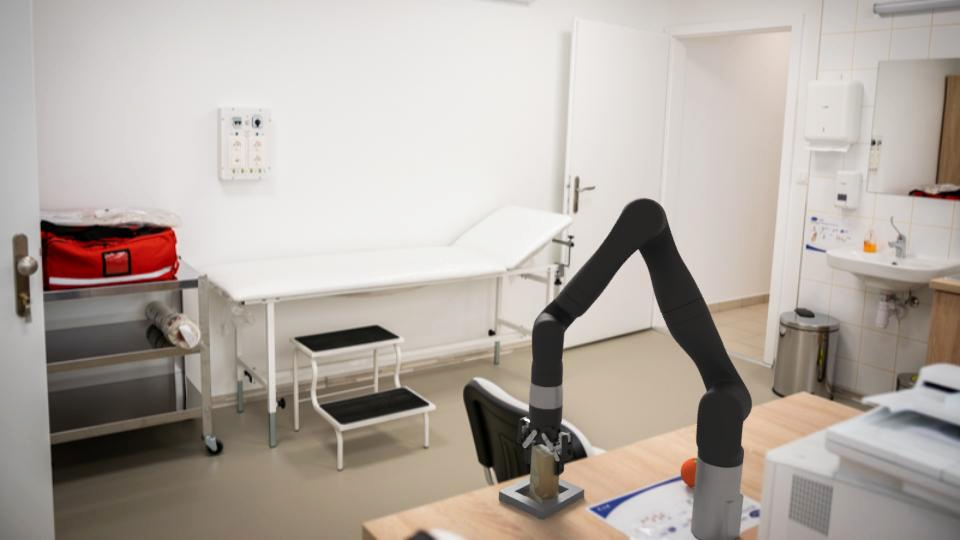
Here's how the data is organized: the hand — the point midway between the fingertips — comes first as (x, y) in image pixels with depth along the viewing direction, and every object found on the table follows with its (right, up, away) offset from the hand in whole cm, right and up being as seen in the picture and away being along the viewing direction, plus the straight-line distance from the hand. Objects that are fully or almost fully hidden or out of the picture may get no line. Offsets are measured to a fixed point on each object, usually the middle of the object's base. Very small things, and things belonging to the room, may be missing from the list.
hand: (543, 468), depth 181 cm
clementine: (+37, -7, +9) cm, 39 cm away
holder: (0, -7, +2) cm, 8 cm away
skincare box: (0, -8, +2) cm, 8 cm away
